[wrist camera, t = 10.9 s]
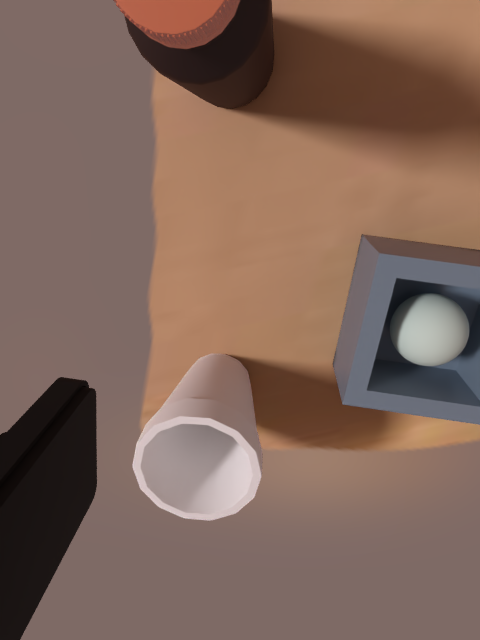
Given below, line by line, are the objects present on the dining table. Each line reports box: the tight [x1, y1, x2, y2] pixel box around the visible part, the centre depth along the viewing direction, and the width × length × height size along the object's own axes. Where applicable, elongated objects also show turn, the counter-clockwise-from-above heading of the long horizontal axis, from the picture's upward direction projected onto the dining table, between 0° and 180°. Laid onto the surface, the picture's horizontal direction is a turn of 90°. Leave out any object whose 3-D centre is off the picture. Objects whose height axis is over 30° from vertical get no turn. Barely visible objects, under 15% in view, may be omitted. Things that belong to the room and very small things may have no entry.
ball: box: [390, 293, 469, 366], centre depth 36 cm, size 6×6×6 cm
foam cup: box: [132, 354, 263, 520], centre depth 38 cm, size 10×9×13 cm
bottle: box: [114, 0, 274, 108], centre depth 24 cm, size 7×7×20 cm
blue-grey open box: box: [333, 235, 480, 424], centre depth 36 cm, size 13×13×7 cm
